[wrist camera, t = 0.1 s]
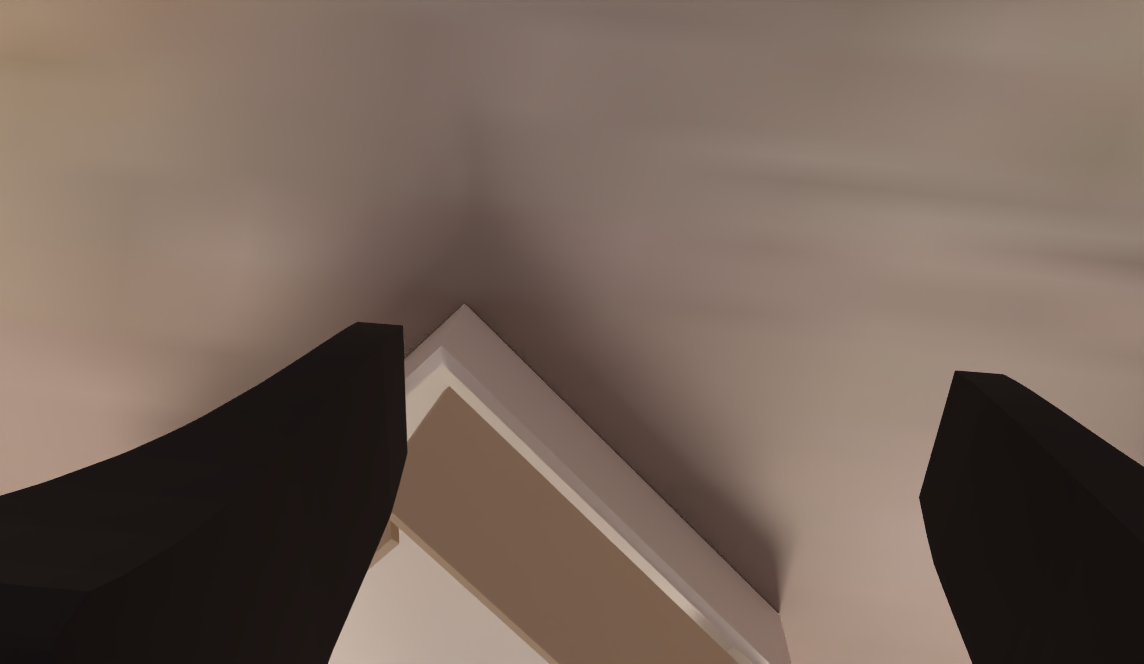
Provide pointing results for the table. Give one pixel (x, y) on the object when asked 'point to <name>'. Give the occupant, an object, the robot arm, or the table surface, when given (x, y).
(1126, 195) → the table surface
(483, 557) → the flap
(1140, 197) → the table surface
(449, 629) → the carton
